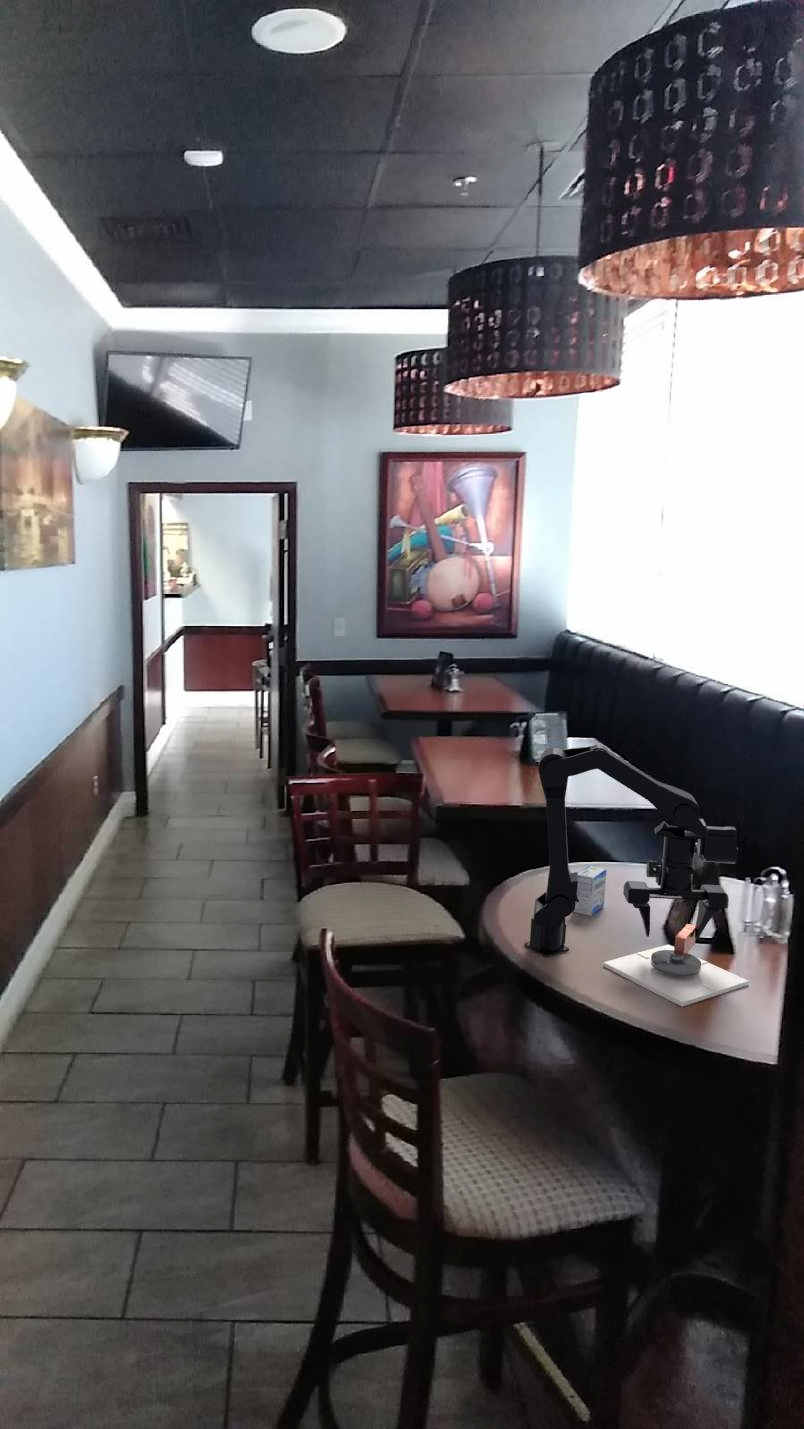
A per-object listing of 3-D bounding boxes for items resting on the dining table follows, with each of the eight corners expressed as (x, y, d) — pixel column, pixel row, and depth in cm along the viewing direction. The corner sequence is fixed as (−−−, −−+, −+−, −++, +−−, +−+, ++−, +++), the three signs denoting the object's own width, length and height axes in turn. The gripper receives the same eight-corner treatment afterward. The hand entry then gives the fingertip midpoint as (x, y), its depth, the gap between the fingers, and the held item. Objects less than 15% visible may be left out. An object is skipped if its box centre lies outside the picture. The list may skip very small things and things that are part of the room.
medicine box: (591, 916, 214) (594, 878, 213) (571, 912, 217) (574, 873, 215) (604, 906, 221) (607, 869, 219) (585, 902, 223) (588, 864, 222)
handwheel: (712, 955, 192) (715, 930, 191) (693, 980, 180) (695, 954, 179) (666, 943, 196) (668, 919, 196) (644, 967, 184) (646, 942, 184)
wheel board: (682, 1006, 174) (682, 998, 173) (603, 966, 189) (603, 958, 189) (748, 984, 184) (748, 977, 183) (668, 948, 199) (668, 941, 199)
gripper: (717, 848, 197) (710, 924, 199) (621, 844, 197) (616, 919, 200) (732, 866, 186) (725, 945, 188) (631, 861, 186) (625, 940, 189)
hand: (671, 937), depth 192 cm, fingers open, 9 cm apart
